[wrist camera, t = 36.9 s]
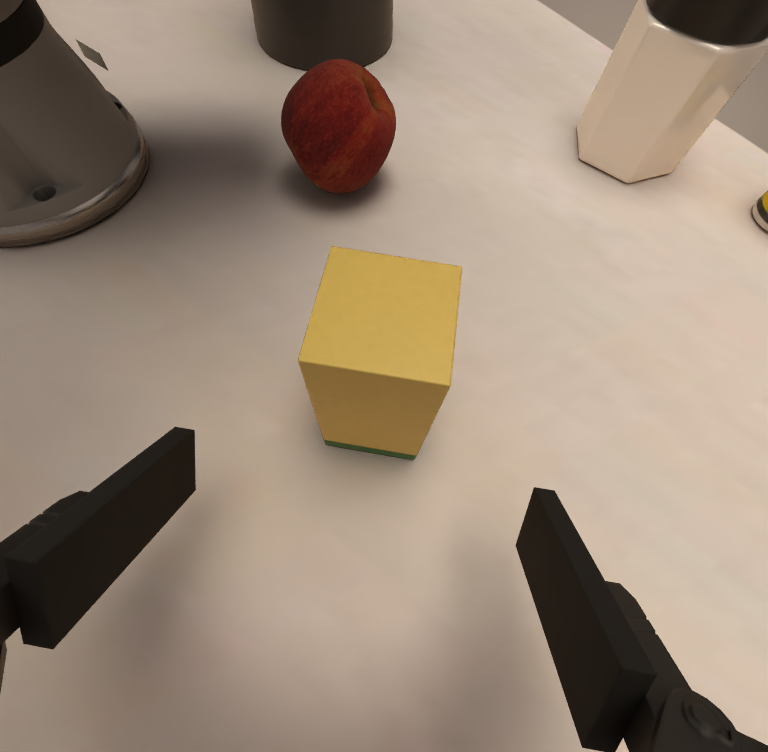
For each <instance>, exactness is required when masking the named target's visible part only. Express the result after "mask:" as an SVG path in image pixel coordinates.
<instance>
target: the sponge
mask: <svg viewBox="0 0 768 752" xmlns="http://www.w3.org/2000/svg"><path fill="white" fill-rule="evenodd" d="M461 274H462V267H461V266H454V265H448V264H441V263H435V262H429V261H422V260H416V259H410V258H403V257H397V256H391V255H384V254H378V253H372V252H365V251H359V250H353V249H346V248H340V247H334V246H332V247H331V249H330V253H329V256H328V259H327V263H326V266H325V270H324V273H323V276H322V280H321V283H320V286H319V290H318V293H317V297H316V300H315V303H314V307H313V310H312V314H311V317H310V320H309V324H308V327H307V331H306V334H305V337H304V341H303V344H302V348H301V351H300V354H299V358H298V362H299V365H300V368H301V371H302V375H303V378H304V381H305V384H306V387H307V390H308V393H309V396H310V399H311V402H312V405H313V408H314V411H315V414H316V417H317V420H318V423H319V426H320V429H321V433H322V436H323V439H324V441H325V444H326V445H330V446H336V447H341V448H347V449H353V450H359V451H365V452H370V453H376V454H382V455H388V456H394V457H399V458H405V459H411V460H414V459H415V457H416V455H417V454H418V452H419V450H420V447H421V445H422V443H423V441H424V439H425V437H426V435H427V433H428V431H429V429H430V427H431V425H432V423H433V421H434V419H435V417H436V415H437V412H438V410H439V408H440V406H441V404H442V402H443V400H444V398H445V396H446V394H447V392H448V390H449V388H450V386H451V377H452V367H453V356H454V346H455V336H456V325H457V315H458V305H459V294H460V284H461Z"/></svg>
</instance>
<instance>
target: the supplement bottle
mask: <svg viewBox="0 0 768 752" xmlns="http://www.w3.org/2000/svg"><path fill="white" fill-rule="evenodd" d="M753 216H754V218H755V220H756V221H757V223H758V224H759V225H760V226H761V227H762V228H764V229H765V230H766V231H768V191H767V192H766V193H765V194H764V195H763V196H762V197H760V198H759V199H758V200H757V201H756V203H755V204H754V206H753Z"/></svg>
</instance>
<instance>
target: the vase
mask: <svg viewBox="0 0 768 752" xmlns="http://www.w3.org/2000/svg"><path fill="white" fill-rule="evenodd" d="M251 3H252V8H253V14H254V21H255V27H256V32H257V38H258V41H259V43H260V45H261V47H262V48H263V49H264V50H265V52H266V53H268V54H269V55H270V56H271V57H273V58H274V59H276V60H278V61H280V62H282V63H284V64H287V65H289V66H293V67H296V68H300V69H305V70H310V69H312V68H313V67H315V66H316V65H318V64H320V63H322V62H325V61H328V60H333V59H346V60H349V61H352V62H354V63H356V64H359V65H361V66H364V65H367V64H369V63H371V62H374V61H375V60H377V59H378V58H380V57H381V56H382V55H383V54H384V53H385V52H386V51H387V50H388V48H389V47H390V44H391V41H392V27H393V19H392V14H393V0H251Z"/></svg>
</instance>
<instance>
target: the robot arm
mask: <svg viewBox="0 0 768 752" xmlns="http://www.w3.org/2000/svg"><path fill="white" fill-rule="evenodd" d="M76 41H77V43H78V45H79V46H80V48H81V50H82V52H83V54H84V56H85V57H87V58H88V59H90V60H92V61H93V62H95V63H97V64H98V65H100V66H101V67H103V68H105V69H106V70H108V69H107V67H106V65H105V63H104V61H103V59H102V57H101V55H100V53H98V52H96V51H95V50H93V49H91V48H89V47H88V46H86V45H84V44H83V43H81V42H79V41H78V40H76ZM148 164H149V151H148V147H147V144H146V142H145V140H144V138H143V136H142V134H141V132H140V130H139V128H138V126H137V124H136V122H135V120H134V119H133V117H132V116H131V114H130V113H129V112H128V111H127V109H126V108H125V107H124V106H123V104H122V103H121V102H120V101H119V100H118V99H117V98H116V97H115V96H114V95H112V94H111V93H110V92H108V91H106V90H105V88H104V87H103V86H102V84H101V83H100V82H99V80H98V79H97V78H96V77H95V75H94V74H93V73H92V72H91V70H90V69H89V68H88V67H87V66H86V65H85V63H84V62H83V61H82V60H81V59H80V58H79V56H78V55H77V54H76V53H75V52H74V51H73V50H72V49H71V48H70V47H69V45H68V44H67V43H66V42H65V41H64V40H63V39H62V38H61V37H60V35H59V34H58V33H57V32H56V31H55V30H54V28H53V27H52V26H51V24H50V23H49V21H48V20H47V18H46V16H45V15H44V13H43V11H42V10H41V8H40V6H39V5H38V3H37V1H36V0H0V246H2V247H6V246H23V245H31V244H37V243H42V242H47V241H51V240H55V239H58V238H62V237H65V236H68V235H71V234H73V233H76V232H78V231H81V230H83V229H85V228H87V227H89V226H91V225H93V224H95V223H97V222H99V221H101V220H102V219H104V218H106V217H107V216H109V215H110V214H111V213H113V212H114V211H116V210H117V209H118V208H119V207H121V206H122V205H123V204H124V203H125V202H126V201H127V200H128V199H129V198H130V197H131V196H132V195H133V194H134V193H135V191H136V190H137V189H138V187H139V186H140V184H141V183H142V181H143V179H144V177H145V174H146V172H147V168H148ZM195 490H196V485H195V431H194V430H191V429H185V428H179V427H174V428H173V429H172V430H170V431H169V432H168V433H166V434H165V435H164V436H163V437H161V438H160V439H159V440H157V441H156V442H155V443H153V444H152V445H151V446H149V447H148V448H147V449H145V450H144V451H143V452H141V453H140V454H139V455H138V456H136V457H135V458H134V459H132V460H131V461H130V462H128V463H127V464H126V465H124V466H123V467H122V468H120V469H119V470H118V471H117V472H115V473H114V474H113V475H111V476H110V477H109V478H107V479H106V480H105V481H103V482H102V483H101V484H99V485H98V486H97V487H95V488H94V489H93V490H92V491H90V492H84V491H79V492H76V493H74V494H72V495H70V496H67V497H65V498H63V499H61V500H59V501H57V502H56V503H55V504H53V505H52V506H51V507H49V508H48V509H46V510H45V511H44V512H43V514H39V515H38V516H37V517H35V518H34V519H32V520H31V521H30V522H29V524H25V525H24V526H23V527H21V528H20V529H19V530H17V531H16V532H14V533H13V534H12V535H10V536H9V537H7V538H6V539H5V540H3V541H2V542H0V692H1V686H2V679H3V673H4V666H5V660H6V653H7V648H6V643H5V640H6V639H7V638H8V637H10V636H11V635H12V634H13V633H14V632H15V631H16V630H17V629H18V628H19V627H20V631H21V635H22V639H23V644H27V645H33V646H38V647H43V648H49V649H54V648H55V647H56V646H57V645H58V643H59V642H60V641H61V640H62V639H63V638H64V637H65V636H66V634H67V633H68V632H69V631H70V630H71V629H72V628H73V627H74V625H75V624H76V623H77V622H78V621H79V620H80V619H81V618H82V617H83V615H84V614H85V613H86V612H87V611H88V610H89V609H90V608H91V606H92V605H93V604H94V603H95V602H96V601H97V600H98V599H99V598H100V596H101V595H102V594H103V593H104V592H105V591H106V590H107V589H108V587H109V586H110V585H111V584H112V583H113V582H114V581H115V580H116V579H117V577H118V576H119V575H120V574H121V573H122V572H123V571H124V570H125V568H126V567H127V566H128V565H129V564H130V563H131V562H132V561H133V560H134V558H135V557H136V556H137V555H138V554H139V553H140V552H141V551H142V549H143V548H144V547H145V546H146V545H147V544H148V543H149V542H150V541H151V539H152V538H153V537H154V536H155V535H156V534H157V533H158V532H159V530H160V529H161V528H162V527H163V526H164V525H165V524H166V523H167V522H168V520H169V519H170V518H171V517H172V516H173V515H174V514H175V513H176V511H177V510H178V509H179V508H180V507H181V506H182V505H183V504H184V503H185V501H186V500H187V499H188V498H189V497H190V496H191V495H192V494H193V492H194V491H195ZM516 548H517V551H518V554H519V557H520V560H521V563H522V566H523V569H524V572H525V575H526V578H527V581H528V584H529V587H530V590H531V594H532V597H533V600H534V603H535V606H536V609H537V612H538V615H539V618H540V621H541V624H542V627H543V630H544V633H545V636H546V639H547V642H548V645H549V648H550V651H551V654H552V657H553V660H554V663H555V666H556V669H557V672H558V676H559V679H560V682H561V685H562V688H563V691H564V694H565V697H566V700H567V703H568V706H569V709H570V712H571V715H572V718H573V721H574V724H575V727H576V730H577V733H578V736H579V739H580V742H581V745H582V748H587V749H593V750H598V751H603V752H615V751H616V750H617V748H618V746H619V744H620V742H621V740H622V739H623V738H624V740H625V743H626V745H627V747H628V750H629V752H768V746H767V745H765V744H763V743H761V742H759V741H757V740H755V739H753V738H750V737H748V736H746V735H744V734H742V733H740V732H738V731H736V729H735V727H734V726H733V724H732V723H731V721H730V720H729V719H728V718H727V717H726V716H725V714H724V713H723V712H722V711H721V710H720V709H719V708H718V707H716V706H715V705H714V704H713V703H712V702H710V701H709V700H708V699H707V698H705V697H703V696H701V695H700V694H698V693H696V692H694V691H692V690H691V688H690V687H689V685H688V683H687V682H686V680H685V678H684V677H683V675H682V674H681V672H680V670H679V669H678V667H677V665H676V664H675V662H674V661H673V659H672V657H671V656H670V654H669V652H668V651H667V649H666V648H665V646H664V644H663V643H662V641H661V640H660V638H659V636H658V635H656V634H655V630H654V628H653V627H652V625H651V623H650V622H649V620H647V619H646V615H645V614H644V612H643V610H642V609H641V607H640V605H639V604H638V602H637V601H636V599H635V598H634V597H633V596H632V595H631V594H630V593H629V592H628V591H627V590H626V589H625V588H624V587H623V586H622V585H621V584H620V583H614V582H608V581H605V580H604V578H603V577H602V575H601V573H600V571H599V569H598V568H597V566H596V564H595V562H594V560H593V559H592V557H591V555H590V553H589V552H588V550H587V548H586V546H585V544H584V543H583V541H582V539H581V537H580V535H579V534H578V532H577V530H576V528H575V526H574V525H573V523H572V521H571V519H570V518H569V516H568V514H567V512H566V510H565V509H564V507H563V505H562V503H561V501H560V500H559V498H558V496H557V494H556V493H555V491H553V490H547V489H541V488H535V487H534V489H533V493H532V496H531V499H530V502H529V505H528V508H527V511H526V514H525V518H524V521H523V524H522V527H521V530H520V533H519V536H518V539H517V543H516Z"/></svg>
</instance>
